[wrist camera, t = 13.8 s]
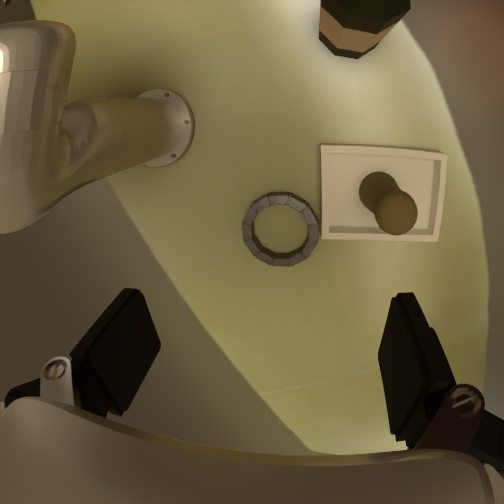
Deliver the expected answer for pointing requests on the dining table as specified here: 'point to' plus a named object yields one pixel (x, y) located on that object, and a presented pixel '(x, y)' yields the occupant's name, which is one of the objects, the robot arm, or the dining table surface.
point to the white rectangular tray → (393, 163)
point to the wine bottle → (358, 24)
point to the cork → (388, 203)
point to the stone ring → (267, 254)
